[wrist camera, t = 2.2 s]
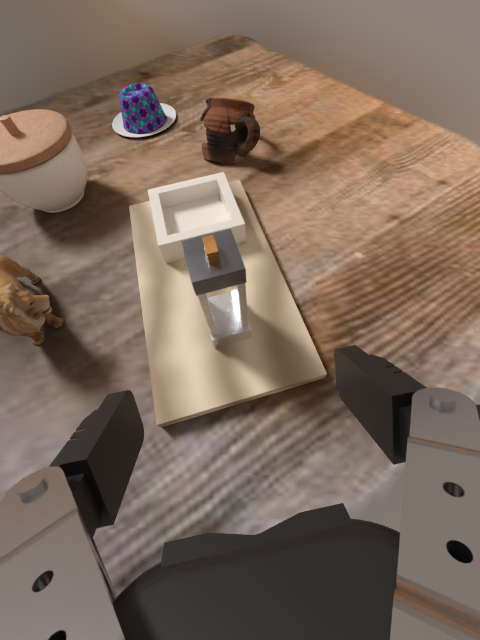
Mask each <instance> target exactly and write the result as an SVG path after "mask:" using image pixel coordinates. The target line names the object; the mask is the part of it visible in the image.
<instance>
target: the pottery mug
mask: <svg viewBox="0 0 480 640" xmlns="http://www.w3.org/2000/svg"><path fill="white" fill-rule="evenodd" d="M206 103H207V108H206V110H205V111H204V112H203V114H202V116H201V118H200V120H201V121H203V119H204V125H205V127H206V128H207V129H206V135H207V140H208V143H203V144H202V151H203V155H204V159H206V160H211V161H215V162H218V163H224V164H234V162H235V155H236V151H237V152H238V154H239V155H240V156H242V157H244V156H246V155H247V154H248V153H249V151H251V150H252V149H253V148H254V147H255V146H256V144H257V142H258V140H259V136H260V127H259V124H258V122H257V121H256V120H255V116H254V114H253V110H254V105H253V104H251V103H249V102H246V101H243V100H237V99H230V98H208V99H207V100H206ZM204 117H205V118H204ZM231 124H232V125H233V124H235V128H236V130H235V131H233V132H231V129H230V125H231Z"/></svg>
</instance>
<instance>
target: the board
mask: <svg viewBox="0 0 480 640" xmlns="http://www.w3.org/2000/svg"><path fill="white" fill-rule="evenodd" d="M228 184H229V186H230V189H231V191H232V194H233V196H234V198H235V201H236V203H237V206H238V208H239V210H240V213H241V215H242V218H243V220H244V222H245V231H246V243H244V244H240V245H237V247H238V250H239V252H240V255H241V258H242V260H243V263H244V266H245V268H246V281H247V282H246V283H245V286H246V299H247V312H248V323H249V326H250V329H251V338H248V339H245V340H241V341H238V342H234V343H231V344H227V345H224V346H220V347H217V348H215V347H214V345H213V342H212V339H211V335H210V331H209V327H208V324H207V321H206V318H205V315H204V312H203V309H202V307H201V304H200V301H199V298H198V296H196V294H195V291H194V288H193V286H192V283H191V279H190V275H189V271H188V266H187V262H186V258H185V259H182V260H178V261H174V262H170V263H166V262H165V260H164V258H163V256H162V253H161V251H160V249H159V247H158V243H157V237H156V232H155V226H154V221H153V216H152V210H151V205H150V201H147V202H143V203H139V204H135V205H131V206H129V210H130V218H131V226H132V234H133V242H134V250H135V258H136V266H137V273H138V281H139V289H140V297H141V305H142V313H143V321H144V329H145V337H146V344H147V352H148V360H149V368H150V376H151V384H152V392H153V400H154V407H155V415H156V423H157V425H158V426H160V427H165V426H168V425H171V424H175V423H178V422H181V421H185V420H188V419H191V418H195V417H198V416H201V415H205V414H208V413H211V412H214V411H218V410H221V409H224V408H228V407H231V406H234V405H238V404H241V403H244V402H248V401H251V400H254V399H257V398H261V397H264V396H267V395H271V394H274V393H277V392H281V391H284V390H287V389H291V388H294V387H297V386H300V385H304V384H307V383H310V382H314V381H317V380H320V379H324V377H325V376H326V374H327V373H326V371H325V368H324V366H323V364H322V362H321V359H320V357H319V355H318V353H317V351H316V348H315V346H314V344H313V342H312V339H311V337H310V335H309V333H308V331H307V328H306V326H305V324H304V322H303V320H302V317H301V315H300V313H299V311H298V308H297V306H296V304H295V302H294V300H293V297H292V295H291V293H290V291H289V289H288V286H287V284H286V282H285V280H284V277H283V275H282V273H281V271H280V269H279V266H278V264H277V262H276V260H275V258H274V255H273V253H272V251H271V249H270V246H269V244H268V242H267V240H266V238H265V235H264V233H263V231H262V229H261V226H260V224H259V222H258V220H257V218H256V215H255V213H254V211H253V209H252V207H251V204H250V202H249V200H248V198H247V195H246V193H245V191H244V189H243V187H242V184H241V182H240V180H236V181H232V182H228ZM228 292H231V287H228V288H224V289H220V290H217V291H213V292H209V293H207V296H208V298H209V297H213V296H216V295H220V294H224V293H228Z"/></svg>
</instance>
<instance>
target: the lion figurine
mask: <svg viewBox="0 0 480 640" xmlns="http://www.w3.org/2000/svg"><path fill="white" fill-rule="evenodd" d="M25 276H26V277H27V278H28V280H29V282H30V283H32V284H36V283H37V282H39V280H40V278H39V277H38V276H37V275H35V274H33V273H32V272H30V271H29V269H28V268H25V267H21V266H20V265H19V264H18V263H16V262H15V261H13V260H11V259H10V258H8V257H6V256H4V255H1V254H0V331H2V332H4V333H7V334H10V335H11V336H19V335H20V336H28V337H31V338H32V343H33V344H35V345H39V344H41V343H42V342H44V337H43V335H42V334H41V333H39V332H37V331H38V330H39V329H40V327H42V326H43V324H44V323H45V321H46V322H47V323H48V324H49V325H52V326H53V327H56V328H58V327H61V326H62V324H63V321H64V319H62V318H58V317H56V316H54V315H52V314H51V313H50V312H51V311H52V308H51V306H50V303H49V296H48V295H32V294H30V293H29V292H26V291H25V289H24V287H23V286H22V284H21V283H20V282H19V281H18V280H17V279H16V278H17V277H25Z"/></svg>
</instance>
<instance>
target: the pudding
mask: <svg viewBox="0 0 480 640" xmlns="http://www.w3.org/2000/svg"><path fill="white" fill-rule="evenodd" d="M119 101H120V107H121V113H119V114H118V115H117V116H116V117H115V119H114V120H113V123H112V127H113V129H114V131H115V132H117V133H118V134H120V135H123V136H126V137H144V136H149V135H153V134H156V133H158V132H161V131H163V130H165V129H166V128H168V127H169V126H170V125H171V124H172V123H173V122H174V121H175V118H176V112H175V110H174V109H173V108H172V107H171V106H169V105H166V104H163V103H159V101H158V99H157V97H156V95H155V93H154V91H153V89H152V88H151V87H150V86H149V85H146V84H144V83H140V84H131V85H130V86H126V87H124V88H123V89H122V91H120V93H119ZM165 114H166V115H165ZM166 116H167V122H166V119H165V118H166ZM165 123H166V124H165ZM164 124H165V125H164ZM123 125H124V127H126V130H127V131H128V132H127V131H126V130H125V129H124V128H123ZM162 125H164V126H163V127H161V128H160V129H159V127H160V126H162ZM157 129H158V130H157ZM155 130H156V131H155ZM148 131H150V132H151V133H146V132H148ZM152 131H154V132H152ZM129 132H130V133H129ZM131 132H135V133H137V134H132V133H131ZM144 133H146V134H144Z"/></svg>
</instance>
